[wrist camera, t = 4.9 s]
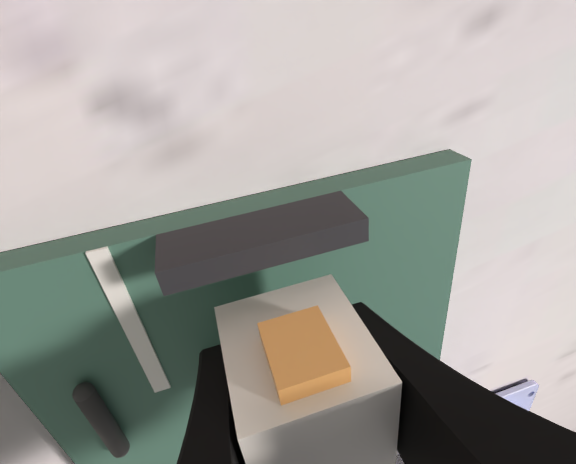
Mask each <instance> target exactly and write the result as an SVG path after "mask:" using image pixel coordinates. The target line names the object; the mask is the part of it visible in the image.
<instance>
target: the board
mask: <svg viewBox="0 0 576 464" xmlns="http://www.w3.org/2000/svg"><path fill="white" fill-rule="evenodd" d="M470 166H471V159H470V158H467V157H465V156H463V155H461V154H459V153H457V152H454V151H452V150H450V149H449V150H445V151H440V152H436V153H432V154H427V155H423V156H419V157H414V158H410V159H405V160H401V161H397V162H392V163H388V164H384V165H379V166H375V167H371V168H366V169H362V170H358V171H353V172H349V173H345V174H340V175H336V176H332V177H327V178H323V179H319V180H314V181H310V182H306V183H301V184H297V185H293V186H288V187H284V188H279V189H275V190H271V191H266V192H262V193H258V194H253V195H249V196H245V197H240V198H236V199H232V200H227V201H223V202H219V203H214V204H210V205H206V206H201V207H197V208H193V209H188V210H184V211H180V212H175V213H171V214H167V215H162V216H158V217H153V218H149V219H145V220H140V221H136V222H132V223H127V224H123V225H119V226H114V227H110V228H106V229H101V230H97V231H93V232H88V233H84V234H80V235H75V236H71V237H67V238H62V239H58V240H54V241H49V242H45V243H41V244H36V245H32V246H27V247H23V248H19V249H14V250H10V251H6V252H1V253H0V373H1V374H2V376H3V377H4V378H5V379H6V380H7V382H8V383H9V384H10V385H11V386H12V388H13V389H14V390H15V391H16V393H17V394H18V395H19V396H20V397H21V399H22V400H23V401H24V402H25V404H26V405H27V406H28V407H29V408H30V410H31V411H32V412H33V413H34V414H35V416H36V417H37V418H38V419H39V421H40V422H41V423H42V424H43V425H44V427H45V428H46V429H47V430H48V432H49V433H50V434H51V435H52V436H53V438H54V439H55V440H56V441H57V442H58V444H59V445H60V446H61V447H62V449H63V450H64V451H65V452H66V453H67V455H68V456H69V457H70V458H71V460H72V461H73V462H74V463H75V464H177V460H178V457H179V453H180V450H181V446H182V443H183V439H184V436H185V432H186V428H187V424H188V420H189V415H190V411H191V406H192V402H193V397H194V392H195V386H196V380H197V374H198V365H199V353H200V352H201V351H202V350H203V349H206V348H209V347H213V346H216V345H219V344H221V343H220V338H219V332H218V326H217V321H216V315H215V309H214V307H217V306H220V305H224V304H227V303H231V302H234V301H238V300H241V299H245V298H248V297H252V296H256V295H259V294H263V293H266V292H270V291H273V290H277V289H280V288H284V287H287V286H291V285H294V284H298V283H302V282H305V281H309V280H312V279H316V278H319V277H323V276H326V275H330V274H332V276H333V277H334V279H335V280H336V282H337V283H338V285H339V287H340V288H341V290H342V291H343V293H344V294H345V296H346V297H347V299H348V300H349V302H350V303H351V305H352V304H355V303H359V302H362V303H364V304H365V305H366V306H368V307H369V308H370V309H371V310H373V311H374V312H375V313H376V314H378V315H379V316H380V317H381V318H383V319H384V320H385V321H386V322H388V323H389V324H390V325H391V326H393V327H394V328H395V329H397V330H398V331H399V332H401V333H402V334H403V335H405V336H406V337H407V338H409V339H410V340H411V341H413V342H414V343H416V344H417V345H418V346H420V347H421V348H423V349H424V350H425V351H427V352H428V353H430V354H431V355H433V356H434V357H436V358H437V359H438V360H440V355H441V349H442V342H443V336H444V330H445V323H446V317H447V311H448V304H449V298H450V292H451V286H452V279H453V273H454V267H455V260H456V254H457V248H458V241H459V235H460V229H461V222H462V216H463V210H464V204H465V197H466V191H467V185H468V178H469V172H470ZM397 455H399V452H398V451H397V453H396V456H397Z"/></svg>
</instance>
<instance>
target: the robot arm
mask: <svg viewBox="0 0 576 464" xmlns="http://www.w3.org/2000/svg"><path fill="white" fill-rule="evenodd" d="M352 306H353V308H354V309H355V311H356V312H357V314H358V315H359V317H360V318H361V320H362V322H363V323H364V325H365V326H366V328H367V329H368V331H369V332H370V334H371V335H372V337H373V338H374V340H375V341H376V343H377V344H378V346H379V347H380V349H381V350H382V352H383V353H384V355H385V357H386V358H387V360H388V361H389V363H390V364H391V366H392V367H393V369H394V370H395V372H396V373H397V375H398V376H399V378H400V379H401V381H402V392H401V404H400V416H399V429H398V441H397V451H398V452H399V454H400V456H401V458H402V460H403V462H404V463H405V464H576V432H573V431H571V430H569V429H566V428H564V427H562V426H559V425H557V424H555V423H553V422H551V421H549V420H547V419H545V418H543V417H541V416H538V415H536V414H534V413H532V412H530V411H529V410H530V408H531V405H532V403H533V400H534V398H535V395H536V393H537V390H538V387H539V385H538V384H537V383H536V382H535V381H534V380H530V381H527V382H525V383H522V384H519V385H517V386H514V387H511V388H509V389H506V390H503V391H501V392H498V393H493V392H491V391H489V390H488V389H486V388H484V387H482V386H480V385H479V384H477V383H475V382H473V381H472V380H470V379H468V378H467V377H465V376H463V375H462V374H460V373H459V372H457V371H455V370H454V369H452V368H451V367H449V366H448V365H446V364H445V363H443V362H442V361H440V360H438V359H437V358H436V357H434V356H433V355H431V354H430V353H428V352H427V351H425V350H424V349H423V348H421V347H420V346H418V345H417V344H416V343H414V342H413V341H411V340H410V339H409V338H407V337H406V336H405V335H403V334H402V333H401V332H399V331H398V330H397V329H395V328H394V327H393V326H391V325H390V324H389V323H388V322H386V321H385V320H384V319H383V318H381V317H380V316H379V315H378V314H376V313H375V312H374V311H373V310H371V309H370V308H369V307H368V306H366V305H365V304H364V303H362V302H359V303H355V304H352ZM177 464H246V463H245V460H244V457H243V455H242V452H241V449H240V446H239V443H238V439H237V434H236V428H235V422H234V417H233V411H232V406H231V400H230V394H229V389H228V383H227V377H226V372H225V366H224V360H223V355H222V349H221V344H219V345H216V346H213V347H209V348H206V349H203V350H202V351H201V352H200V353H199V365H198V374H197V380H196V386H195V392H194V397H193V402H192V406H191V411H190V415H189V420H188V424H187V428H186V432H185V436H184V439H183V443H182V446H181V450H180V453H179V457H178V460H177Z"/></svg>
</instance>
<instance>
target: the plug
mask: <svg viewBox="0 0 576 464" xmlns="http://www.w3.org/2000/svg"><path fill="white" fill-rule="evenodd" d="M214 309H215V315H216V321H217V326H218V332H219V338H220V343H221V349H222V355H223V360H224V366H225V372H226V377H227V383H228V389H229V394H230V400H231V406H232V411H233V417H234V422H235V428H236V434H237V439H238V443H239V446H240V449H241V452H242V455H243V457H244V460H245V463H246V464H396V453H397V441H398V429H399V416H400V404H401V392H402V381H401V379H400V378H399V376H398V375H397V373H396V372H395V370H394V369H393V367H392V366H391V364H390V363H389V361H388V360H387V358H386V357H385V355H384V353H383V352H382V350H381V349H380V347H379V346H378V344H377V343H376V341H375V340H374V338H373V337H372V335H371V334H370V332H369V331H368V329H367V328H366V326H365V325H364V323H363V322H362V320H361V318H360V317H359V315H358V314H357V312H356V311H355V309H354V308H353V306H352V305H351V303H350V302H349V300H348V299H347V297H346V296H345V294H344V293H343V291H342V290H341V288H340V287H339V285H338V283H337V282H336V280H335V279H334V277H333V276H332V274H330V275H326V276H323V277H319V278H316V279H312V280H309V281H305V282H302V283H298V284H294V285H291V286H287V287H284V288H280V289H277V290H273V291H270V292H266V293H263V294H259V295H256V296H252V297H248V298H245V299H241V300H238V301H234V302H231V303H227V304H224V305H220V306H217V307H214Z"/></svg>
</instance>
